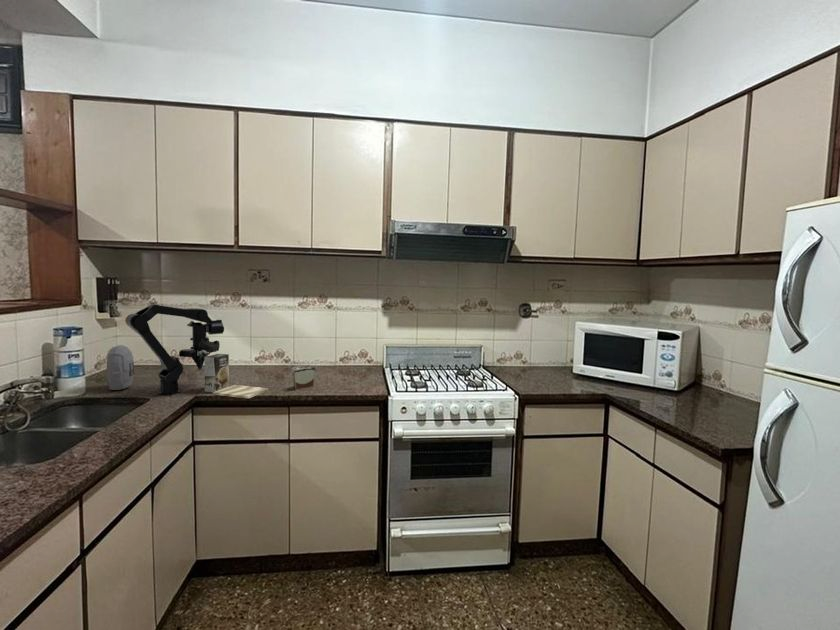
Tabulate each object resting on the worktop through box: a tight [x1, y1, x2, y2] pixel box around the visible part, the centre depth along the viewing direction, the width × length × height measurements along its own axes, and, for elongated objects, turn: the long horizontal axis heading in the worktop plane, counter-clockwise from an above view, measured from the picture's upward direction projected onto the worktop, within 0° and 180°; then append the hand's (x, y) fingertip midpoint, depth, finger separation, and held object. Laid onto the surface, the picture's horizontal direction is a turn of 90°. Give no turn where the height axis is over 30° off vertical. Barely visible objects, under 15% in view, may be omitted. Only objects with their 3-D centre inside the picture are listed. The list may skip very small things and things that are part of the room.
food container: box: [291, 364, 317, 391], centre depth 203 cm, size 12×6×10 cm, turn 134°
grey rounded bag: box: [105, 344, 135, 391], centre depth 192 cm, size 15×8×20 cm, turn 15°
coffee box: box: [204, 353, 230, 393], centre depth 194 cm, size 9×6×16 cm
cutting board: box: [212, 384, 269, 400], centre depth 191 cm, size 18×14×1 cm
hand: (200, 368), depth 196 cm, fingers closed
